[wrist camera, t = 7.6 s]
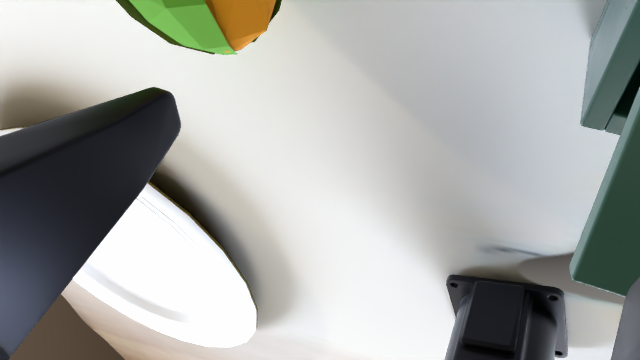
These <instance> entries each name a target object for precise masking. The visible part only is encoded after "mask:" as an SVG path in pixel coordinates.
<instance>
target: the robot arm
mask: <svg viewBox="0 0 640 360" xmlns="http://www.w3.org/2000/svg"><path fill="white" fill-rule="evenodd" d="M180 128H181V121H180V117H179V113H178V110H177V106H176V102H175V98H174V96H173V95H172V93H170V92H168V91H166V90H163V89H160V88H156V87H151V88H148V89H145V90H142V91H139V92H135V93H132V94H129V95H126V96H123V97H120V98H117V99H114V100H111V101H107V102H104V103H101V104H98V105H95V106H92V107H89V108H86V109H83V110H79V111H76V112H73V113H70V114H67V115H64V116H61V117H58V118H55V119H51V120H48V121H45V122H42V123H39V124H36V125H33V126H30V127H27V128H23V129H20V130H17V131H14V132H11V133H8V134H5V135H2V136H0V360H9V359H10V355H12V354H13V353H14V352H15V351H16V349H17V348H18V347H19V346H20V344H21V343H22V342H23V341H24V339H25V338H26V337H27V336H28V334H29V333H30V332H31V330H32V329H33V328H34V327H35V325H36V324H37V323H38V322H39V320H40V319H41V318H42V316H43V315H44V314H45V313H46V312H47V310H48V309H49V307H51V305H52V304H53V302H55V300H56V299H57V298H58V296H59V295H60V294H61V293H62V291H63V290H64V289H65V288H66V286H67V285H68V284H69V283H70V281H71V280H72V279H73V278H74V276H75V275H76V274H77V273H78V271H79V270H80V269H81V268H82V266H83V265H84V264H85V263H86V261H87V260H88V259H89V257H90V256H91V255H92V254H93V252H94V251H95V250H96V249H97V247H98V246H99V245H100V244H101V242H102V241H103V240H104V239H105V237H106V236H107V235H108V234H109V232H110V231H111V230H112V229H113V227H114V226H115V225H116V223H117V222H118V221H119V220H120V218H121V217H122V216H123V215H124V213H125V212H126V211H127V210H128V208H129V207H130V206H131V205H132V203H133V202H134V201H135V200H136V198H137V197H138V196H139V194H140V193H141V192H142V190H143V189H144V187H145V186H146V184H147V183H148V182H149V180H150V178H151V177H152V175H153V174H154V172H155V171H156V169H157V167H158V166H159V164H160V163H161V161H162V160H163V158H164V156H165V155H166V153H167V152H168V150H169V149H170V147H171V145H172V144H173V142H174V141H175V139H176V138H177V136H178V134H179V132H180ZM446 285H447V288H448V292H449V295H450V299H451V302H452V306H453V309H454V313H455V316H456V320H455V324H454V328H453V331H452V335H451V339H450V342H449V346H448V349H447V353H446V357H445V360H554V357H559V358H564V357H566V356H567V352H568V345H567V332H566V318H565V305H564V293H563V291H562V290H560V289H558V288H555V287H550V286H542V285H534V284H526V283H517V282H509V281H501V280H493V279H485V278H477V277H469V276H461V275H449V276H448V278H447V282H446ZM611 360H640V277H639V278H638V279H637V280H636V281H635V282H634V284H633V285H632V286H631V287H630V289H629V291H628V293H627V296H626V299H625V302H624V306H623V310H622V315H621V319H620V323H619V327H618V332H617V336H616V340H615V344H614V348H613V353H612V357H611Z"/></svg>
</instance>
